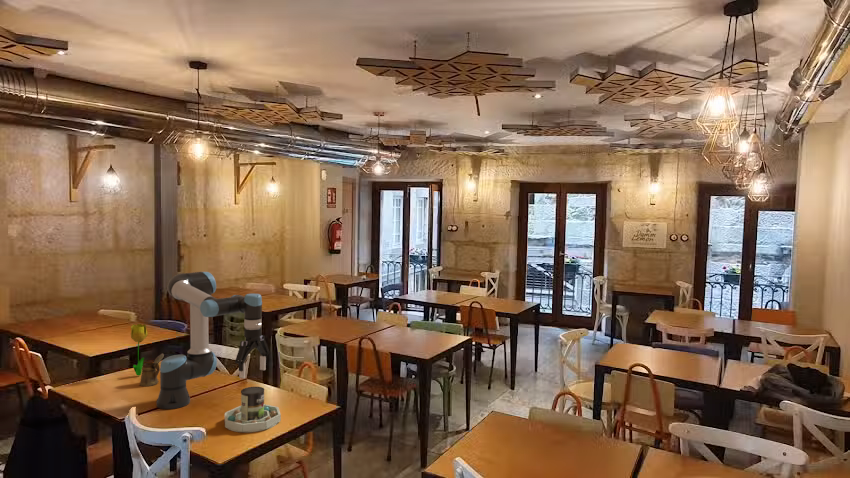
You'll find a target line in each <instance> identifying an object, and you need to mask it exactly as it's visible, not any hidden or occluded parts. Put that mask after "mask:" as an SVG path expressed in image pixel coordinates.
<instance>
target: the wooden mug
mask: <svg viewBox="0 0 850 478" xmlns="http://www.w3.org/2000/svg"><path fill="white" fill-rule="evenodd" d="M164 356H165V354H164V353H163V352H162V353H161V354H159V355H157V356H156V357H155V358H154V360H153V362H152V361H151V362H143V367H142V372H141V375H140V381H139V386H141V387H151V386H152V387H153V386H155V385H157V384H159V379H158V375H159V374H160V364H159V363H161V362H162V360H163V358H165V357H164Z"/></svg>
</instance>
